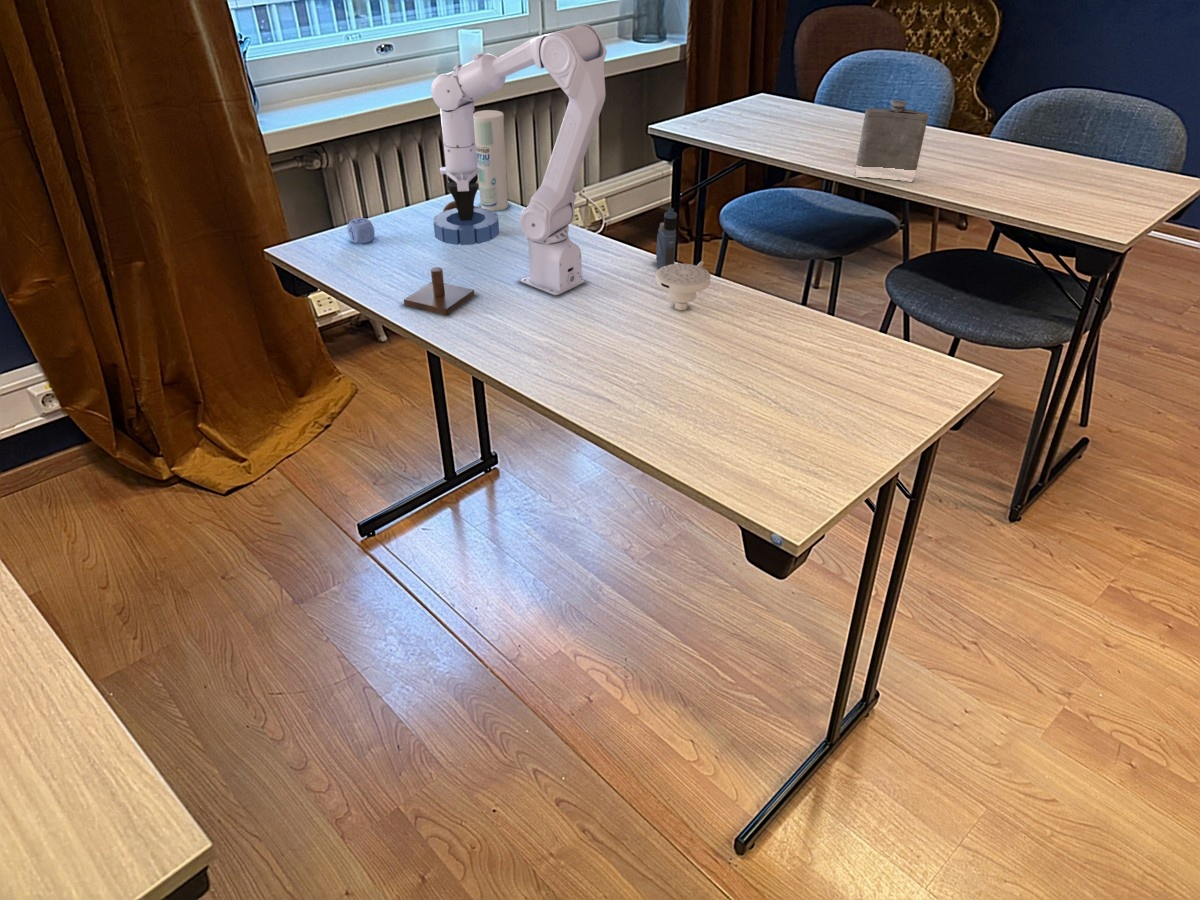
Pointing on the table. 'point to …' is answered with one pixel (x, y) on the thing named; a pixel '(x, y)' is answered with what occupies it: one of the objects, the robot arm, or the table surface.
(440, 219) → the ring
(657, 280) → the showerhead
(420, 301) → the brown peg stand
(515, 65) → the robot arm
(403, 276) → the table surface
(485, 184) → the spray can
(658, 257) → the vaping device
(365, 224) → the decorative dice
